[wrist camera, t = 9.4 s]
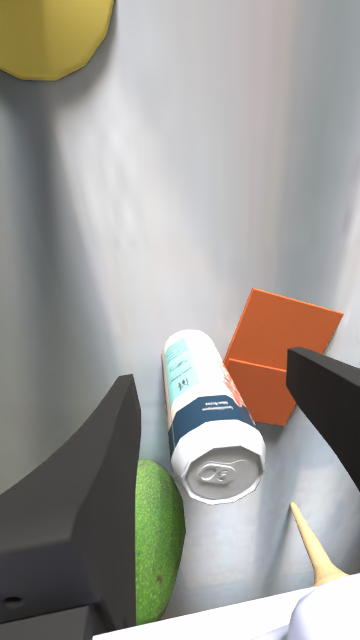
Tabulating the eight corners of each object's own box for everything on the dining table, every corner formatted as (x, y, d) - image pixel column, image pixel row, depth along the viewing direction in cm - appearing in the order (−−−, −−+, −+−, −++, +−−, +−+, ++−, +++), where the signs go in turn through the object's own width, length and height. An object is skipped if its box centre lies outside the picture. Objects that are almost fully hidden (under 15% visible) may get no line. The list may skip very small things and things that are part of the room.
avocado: (94, 486, 28) (58, 664, 17) (122, 434, 26) (101, 599, 14) (161, 501, 30) (168, 668, 19) (192, 453, 28) (221, 611, 17)
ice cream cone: (320, 493, 33) (447, 695, 19) (296, 520, 34) (395, 726, 20) (286, 484, 31) (395, 696, 17) (262, 513, 33) (344, 728, 19)
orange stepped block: (341, 312, 23) (346, 315, 23) (282, 423, 27) (285, 428, 27) (252, 287, 21) (255, 289, 21) (203, 410, 26) (205, 415, 25)
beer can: (203, 379, 24) (249, 515, 13) (154, 368, 23) (160, 506, 12) (221, 334, 23) (291, 445, 12) (170, 321, 22) (193, 429, 11)
